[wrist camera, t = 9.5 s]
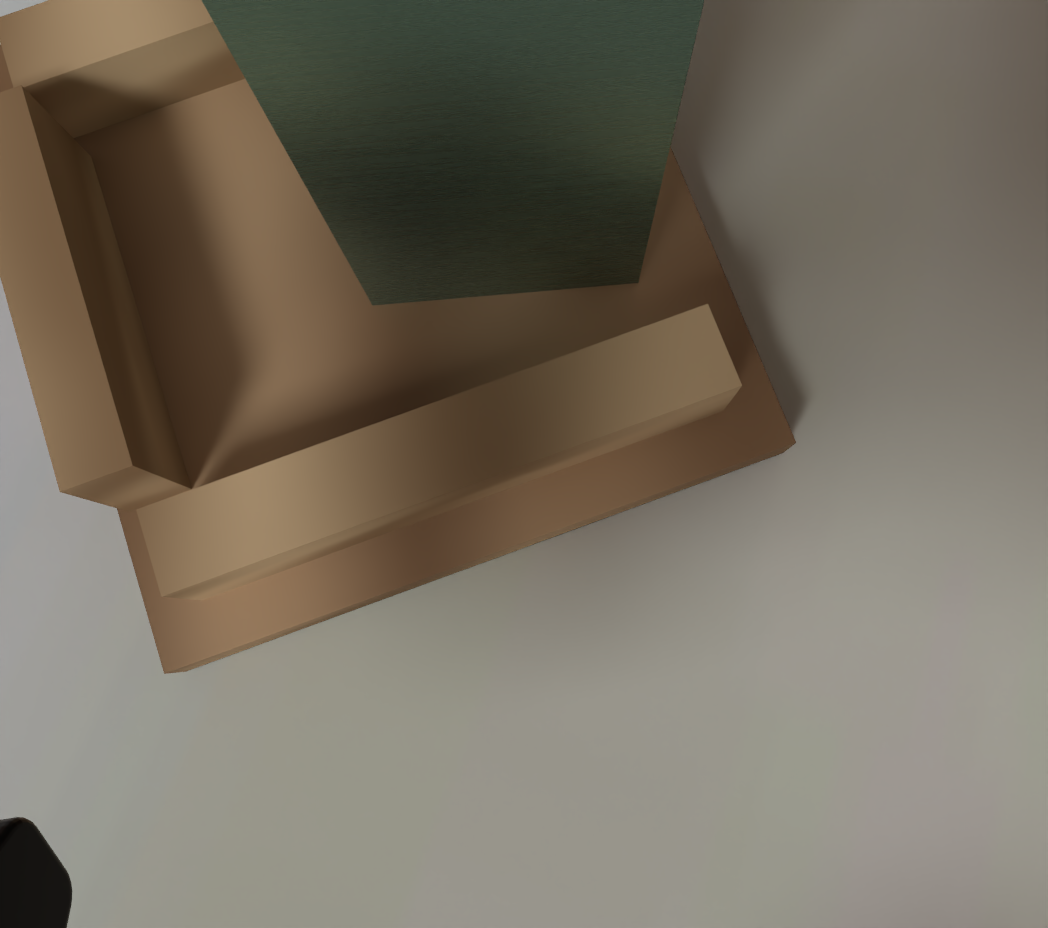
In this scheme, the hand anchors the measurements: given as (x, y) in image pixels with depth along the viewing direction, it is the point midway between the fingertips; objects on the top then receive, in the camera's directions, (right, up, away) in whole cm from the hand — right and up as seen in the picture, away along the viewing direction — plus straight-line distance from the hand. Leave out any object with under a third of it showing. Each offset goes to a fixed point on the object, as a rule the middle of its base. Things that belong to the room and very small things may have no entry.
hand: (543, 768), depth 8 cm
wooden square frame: (-3, +7, +11) cm, 13 cm away
